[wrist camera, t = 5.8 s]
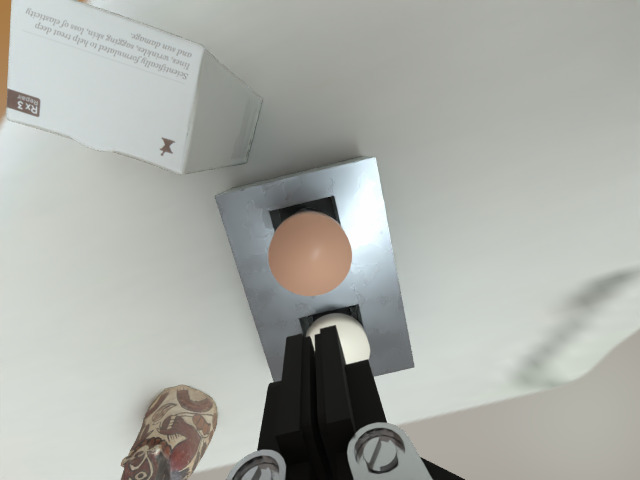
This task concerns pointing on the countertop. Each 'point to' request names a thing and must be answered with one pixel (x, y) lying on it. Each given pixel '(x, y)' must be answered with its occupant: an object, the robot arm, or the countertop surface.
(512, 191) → the countertop surface
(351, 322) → the knob
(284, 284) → the knob
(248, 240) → the housing
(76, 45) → the skincare box
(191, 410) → the figurine
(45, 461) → the countertop surface
